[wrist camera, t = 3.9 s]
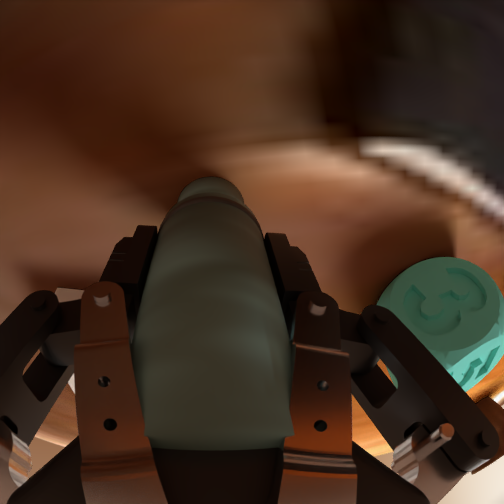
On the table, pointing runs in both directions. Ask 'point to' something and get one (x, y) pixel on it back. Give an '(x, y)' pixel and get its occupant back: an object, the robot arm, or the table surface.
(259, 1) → the table surface
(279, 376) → the peg
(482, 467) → the plant pot
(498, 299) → the decorative dice
